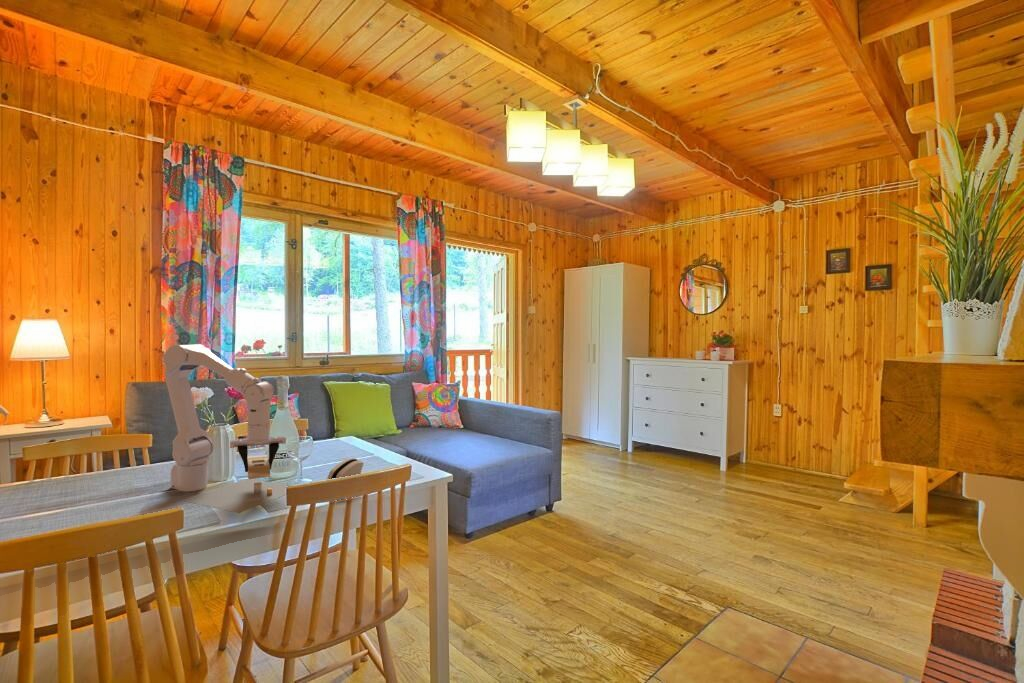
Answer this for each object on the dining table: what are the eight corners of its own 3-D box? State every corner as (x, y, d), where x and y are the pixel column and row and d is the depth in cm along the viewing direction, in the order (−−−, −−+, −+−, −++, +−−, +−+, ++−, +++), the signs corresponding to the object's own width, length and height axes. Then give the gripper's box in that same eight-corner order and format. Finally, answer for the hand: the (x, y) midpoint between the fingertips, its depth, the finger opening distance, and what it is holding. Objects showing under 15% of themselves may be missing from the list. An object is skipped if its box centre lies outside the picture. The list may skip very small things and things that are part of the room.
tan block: (247, 466, 150) (247, 456, 150) (266, 464, 152) (267, 454, 152) (248, 479, 138) (248, 468, 138) (270, 476, 140) (270, 466, 140)
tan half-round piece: (344, 478, 165) (354, 451, 164) (357, 484, 164) (367, 457, 163) (316, 495, 148) (327, 464, 148) (329, 501, 148) (340, 471, 147)
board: (179, 505, 137) (180, 491, 137) (247, 483, 157) (247, 470, 157) (239, 518, 129) (239, 503, 129) (302, 493, 150) (302, 480, 150)
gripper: (230, 428, 138) (229, 476, 138) (287, 424, 145) (286, 470, 145) (230, 423, 144) (229, 469, 144) (285, 420, 151) (284, 464, 151)
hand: (258, 469), depth 145 cm, fingers closed on tan block, 5 cm apart
